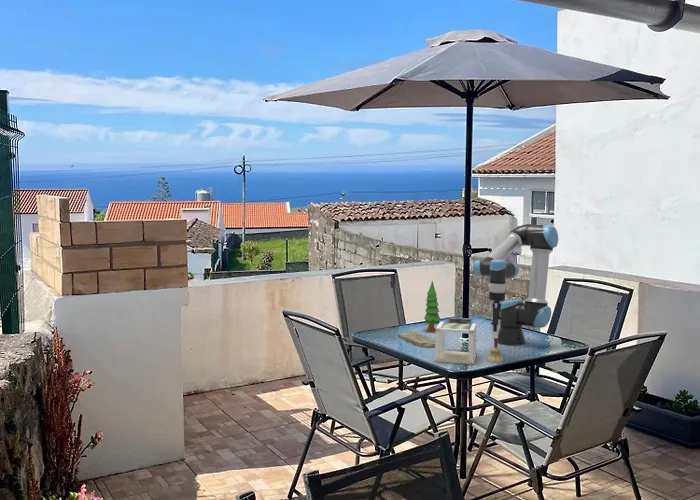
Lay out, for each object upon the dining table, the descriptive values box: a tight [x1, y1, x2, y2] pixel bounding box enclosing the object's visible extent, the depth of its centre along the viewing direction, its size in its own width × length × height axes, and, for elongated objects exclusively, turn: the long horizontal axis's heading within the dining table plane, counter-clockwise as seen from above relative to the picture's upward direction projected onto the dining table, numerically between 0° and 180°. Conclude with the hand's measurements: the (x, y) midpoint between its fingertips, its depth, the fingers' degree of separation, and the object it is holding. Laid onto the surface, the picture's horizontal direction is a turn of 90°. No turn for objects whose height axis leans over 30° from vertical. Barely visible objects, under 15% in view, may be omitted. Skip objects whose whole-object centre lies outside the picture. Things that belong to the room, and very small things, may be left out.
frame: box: [433, 321, 478, 365], centre depth 337 cm, size 19×19×16 cm
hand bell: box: [486, 332, 505, 363], centre depth 333 cm, size 8×8×16 cm
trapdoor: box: [442, 316, 472, 330], centre depth 342 cm, size 13×25×2 cm, turn 165°
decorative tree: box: [423, 280, 441, 333], centre depth 398 cm, size 10×9×30 cm
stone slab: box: [397, 330, 435, 349], centre depth 372 cm, size 12×4×30 cm
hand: (495, 335), depth 332 cm, fingers open, 13 cm apart
